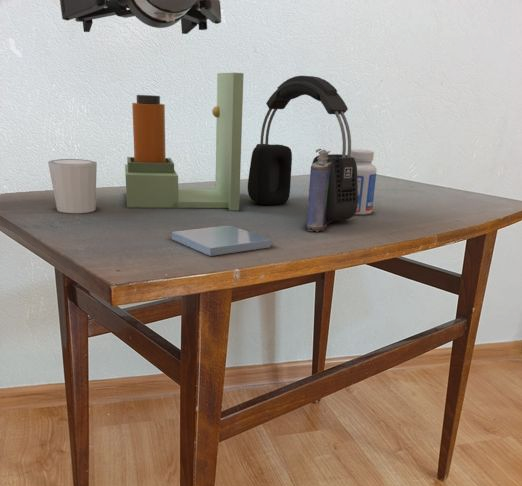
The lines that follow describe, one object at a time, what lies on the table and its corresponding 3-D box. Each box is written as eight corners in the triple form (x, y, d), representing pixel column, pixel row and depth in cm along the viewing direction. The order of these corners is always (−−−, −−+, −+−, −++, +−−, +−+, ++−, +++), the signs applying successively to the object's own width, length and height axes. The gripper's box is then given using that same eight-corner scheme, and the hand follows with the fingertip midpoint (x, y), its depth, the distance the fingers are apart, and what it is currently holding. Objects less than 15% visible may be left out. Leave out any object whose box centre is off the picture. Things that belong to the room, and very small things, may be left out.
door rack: (127, 210, 91) (121, 66, 83) (126, 192, 105) (120, 67, 97) (239, 210, 95) (243, 73, 86) (223, 193, 109) (225, 73, 101)
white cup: (79, 203, 94) (76, 157, 91) (109, 209, 90) (106, 162, 87) (42, 208, 89) (37, 160, 86) (72, 216, 85) (68, 165, 82)
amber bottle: (128, 169, 95) (125, 94, 91) (145, 166, 100) (143, 94, 95) (155, 172, 94) (153, 96, 89) (171, 169, 98) (170, 96, 93)
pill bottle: (362, 208, 102) (369, 149, 98) (377, 215, 97) (385, 152, 93) (333, 209, 100) (339, 148, 96) (347, 215, 95) (354, 152, 91)
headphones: (243, 201, 102) (246, 74, 94) (272, 198, 106) (278, 76, 98) (329, 226, 86) (342, 75, 78) (360, 222, 90) (376, 77, 82)
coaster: (210, 256, 69) (210, 247, 69) (171, 239, 75) (171, 231, 75) (270, 247, 74) (270, 239, 74) (229, 232, 81) (229, 225, 80)
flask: (321, 232, 83) (327, 152, 78) (300, 230, 84) (306, 151, 79) (333, 220, 91) (339, 147, 87) (314, 219, 92) (320, 146, 87)
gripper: (44, 19, 61) (45, 51, 80) (272, 24, 68) (223, 52, 87) (32, -67, 58) (36, -13, 77) (270, -52, 66) (220, -6, 85)
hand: (135, 22), depth 82 cm, fingers open, 13 cm apart
